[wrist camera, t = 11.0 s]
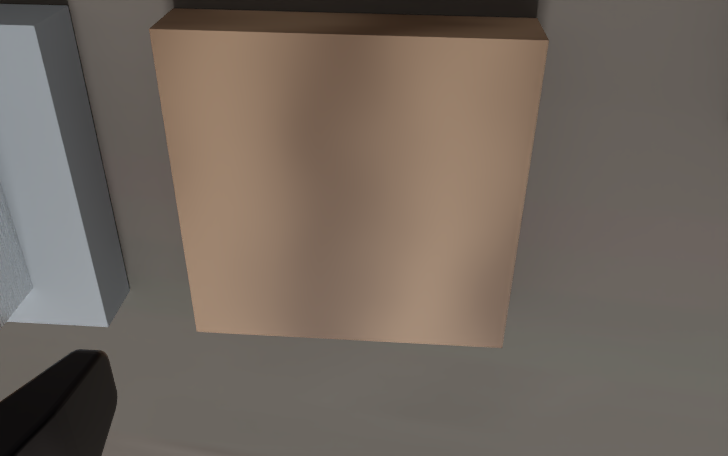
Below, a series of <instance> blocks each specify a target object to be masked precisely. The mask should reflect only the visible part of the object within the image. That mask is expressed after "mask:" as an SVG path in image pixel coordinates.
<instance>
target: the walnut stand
mask: <svg viewBox="0 0 728 456" xmlns="http://www.w3.org/2000/svg"><path fill="white" fill-rule="evenodd" d="M149 32H150V38H151V44H152V51H153V57H154V63H155V70H156V76H157V82H158V89H159V95H160V101H161V108H162V114H163V120H164V126H165V133H166V139H167V145H168V152H169V158H170V164H171V171H172V177H173V183H174V190H175V196H176V202H177V209H178V215H179V221H180V228H181V234H182V240H183V247H184V253H185V259H186V266H187V272H188V278H189V285H190V291H191V297H192V304H193V310H194V316H195V323H196V329H197V332H212V333H231V334H250V335H268V336H287V337H306V338H325V339H343V340H362V341H381V342H400V343H419V344H437V345H456V346H475V347H494V348H502V345H503V339H504V332H505V325H506V319H507V312H508V306H509V299H510V293H511V286H512V279H513V273H514V266H515V260H516V253H517V247H518V240H519V233H520V227H521V220H522V214H523V207H524V201H525V194H526V187H527V181H528V174H529V168H530V161H531V154H532V148H533V141H534V135H535V128H536V122H537V115H538V108H539V102H540V95H541V89H542V82H543V76H544V69H545V62H546V56H547V49H548V43H549V40H548V38H547V36H546V34H545V32H544V30H543V28H542V26H541V24H540V23H539V21H538V19H537V18H511V17H474V16H437V15H400V14H363V13H325V12H288V11H251V10H214V9H177V8H173V9H172V10H171V11H170V12H168V13H167V14H166V15H165V16H164V17H163V18H161V19H160V20H159V21H158V22H157V23H155V24H154V25H153V26H152V27H151V28H150V29H149Z"/></svg>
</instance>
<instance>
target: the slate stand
mask: <svg viewBox="0 0 728 456" xmlns="http://www.w3.org/2000/svg"><path fill="white" fill-rule="evenodd" d="M0 181H1V184H2V187H3V190H4V194H5V197H6V200H7V203H8V207H9V210H10V213H11V216H12V220H13V223H14V226H15V229H16V232H17V236H18V239H19V242H20V245H21V249H22V252H23V255H24V258H25V262H26V265H27V268H28V271H29V275H30V278H31V281H32V284H33V289H32V290H31V291H30V293H29V294H28V295H27V296H26V298H25V299H24V300H23V301H22V303H21V304H20V305H19V306H18V308H17V309H16V310H15V312H14V313H13V314H12V315H11V317H10V318H9V319H8V320H7V322H24V323H43V324H62V325H81V326H99V327H109V325H110V323H111V321H112V320H113V318H114V316H115V315H116V313H117V311H118V310H119V308H120V306H121V304H122V303H123V301H124V299H125V298H126V296H127V294H128V293H129V291H130V289H129V285H128V280H127V276H126V271H125V266H124V262H123V257H122V253H121V248H120V243H119V239H118V234H117V229H116V225H115V220H114V216H113V211H112V206H111V202H110V197H109V193H108V188H107V183H106V179H105V174H104V169H103V165H102V160H101V156H100V151H99V146H98V142H97V137H96V133H95V128H94V123H93V119H92V114H91V109H90V105H89V100H88V96H87V91H86V86H85V82H84V77H83V73H82V68H81V63H80V59H79V54H78V49H77V45H76V40H75V36H74V31H73V26H72V22H71V17H70V13H69V8H68V6H66V5H29V4H0Z"/></svg>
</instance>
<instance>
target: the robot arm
mask: <svg viewBox="0 0 728 456" xmlns="http://www.w3.org/2000/svg"><path fill="white" fill-rule="evenodd" d="M116 405H117V390H116V386H115V382H114V378H113V374H112V370H111V366H110V362H109V359H108V356H107V354H106V353H105V352H103V351H100V350H83V349H79V350H75V351H73V352H71V353H70V354H68V355H67V356H65V357H64V358H62V359H61V360H59V361H58V362H57V363H55V364H54V365H52V366H51V367H49V368H48V369H47V370H45V371H44V372H42V373H41V374H39V375H38V376H37V377H35V378H34V379H32V380H31V381H29V382H28V383H26V384H25V385H24V386H22V387H21V388H19V389H18V390H16V391H15V392H14V393H12V394H11V395H9V396H8V397H6V398H5V399H3V400H2V401H1V402H0V456H101V455H102V452H103V449H104V446H105V442H106V439H107V436H108V432H109V429H110V426H111V423H112V419H113V416H114V413H115V409H116Z"/></svg>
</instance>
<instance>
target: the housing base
mask: <svg viewBox="0 0 728 456" xmlns="http://www.w3.org/2000/svg"><path fill="white" fill-rule="evenodd" d="M32 289H33V284H32V281H31V278H30V275H29V271H28V268H27V265H26V262H25V258H24V255H23V252H22V249H21V245H20V242H19V239H18V236H17V232H16V229H15V226H14V223H13V220H12V216H11V213H10V210H9V207H8V203H7V200H6V197H5V194H4V190H3V187H2V184H1V181H0V329H1V328H2V327H3V325H4V324H5V323H6V322H7V320H8V319H9V318H10V317H11V315H12V314H13V313H14V312H15V310H16V309H17V308H18V306H19V305H20V304H21V303H22V301H23V300H24V299H25V298H26V296H27V295H28V294H29V293H30V291H31V290H32Z"/></svg>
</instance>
